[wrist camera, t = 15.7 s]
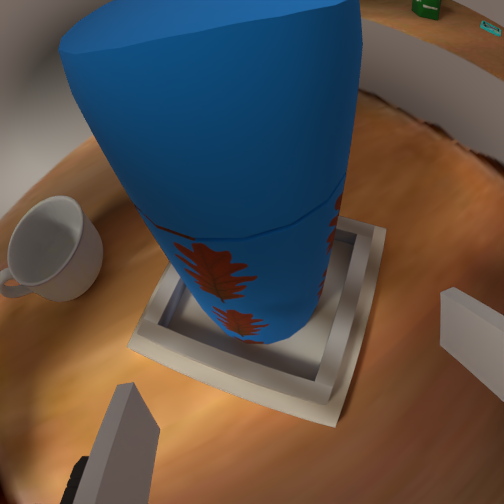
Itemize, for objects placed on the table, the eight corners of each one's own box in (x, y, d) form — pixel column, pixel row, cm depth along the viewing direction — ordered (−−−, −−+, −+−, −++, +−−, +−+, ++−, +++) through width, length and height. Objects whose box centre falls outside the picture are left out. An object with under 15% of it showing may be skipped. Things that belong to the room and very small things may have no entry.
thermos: (308, 358, 26) (376, 49, 4) (189, 331, 28) (-4, 87, 7) (328, 248, 31) (358, -32, 10) (223, 231, 33) (148, -21, 12)
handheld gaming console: (480, 25, 68) (482, 19, 73) (479, 28, 69) (482, 21, 74) (500, 36, 65) (500, 29, 70) (499, 38, 66) (500, 31, 71)
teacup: (105, 219, 38) (75, 178, 31) (125, 287, 33) (88, 250, 26) (25, 268, 36) (-11, 237, 29) (34, 337, 31) (-11, 313, 24)
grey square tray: (332, 427, 24) (338, 428, 21) (133, 350, 29) (116, 341, 26) (383, 236, 33) (391, 217, 30) (213, 193, 38) (207, 174, 35)
